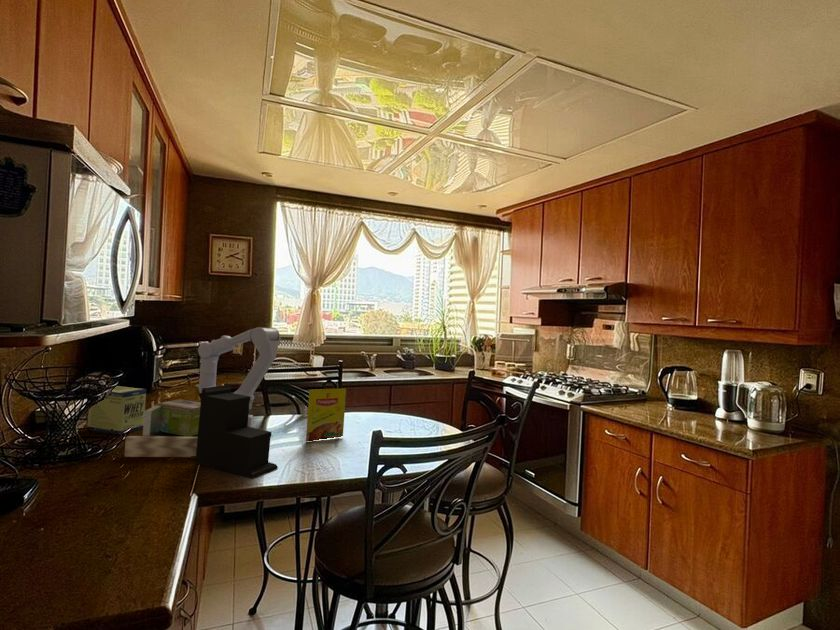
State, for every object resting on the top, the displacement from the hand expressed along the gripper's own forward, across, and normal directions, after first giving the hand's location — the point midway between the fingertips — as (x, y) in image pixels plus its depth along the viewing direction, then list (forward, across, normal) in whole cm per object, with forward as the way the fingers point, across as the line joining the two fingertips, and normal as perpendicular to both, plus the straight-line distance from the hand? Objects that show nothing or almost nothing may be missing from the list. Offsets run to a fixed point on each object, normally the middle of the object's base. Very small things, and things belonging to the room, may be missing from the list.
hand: (205, 408), depth 168 cm
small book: (+9, +23, -11) cm, 27 cm away
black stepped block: (+10, +39, +19) cm, 44 cm away
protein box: (+10, -4, -32) cm, 34 cm away
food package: (+10, +9, +46) cm, 48 cm away
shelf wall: (+9, +28, -3) cm, 30 cm away
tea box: (+10, +16, -3) cm, 19 cm away
